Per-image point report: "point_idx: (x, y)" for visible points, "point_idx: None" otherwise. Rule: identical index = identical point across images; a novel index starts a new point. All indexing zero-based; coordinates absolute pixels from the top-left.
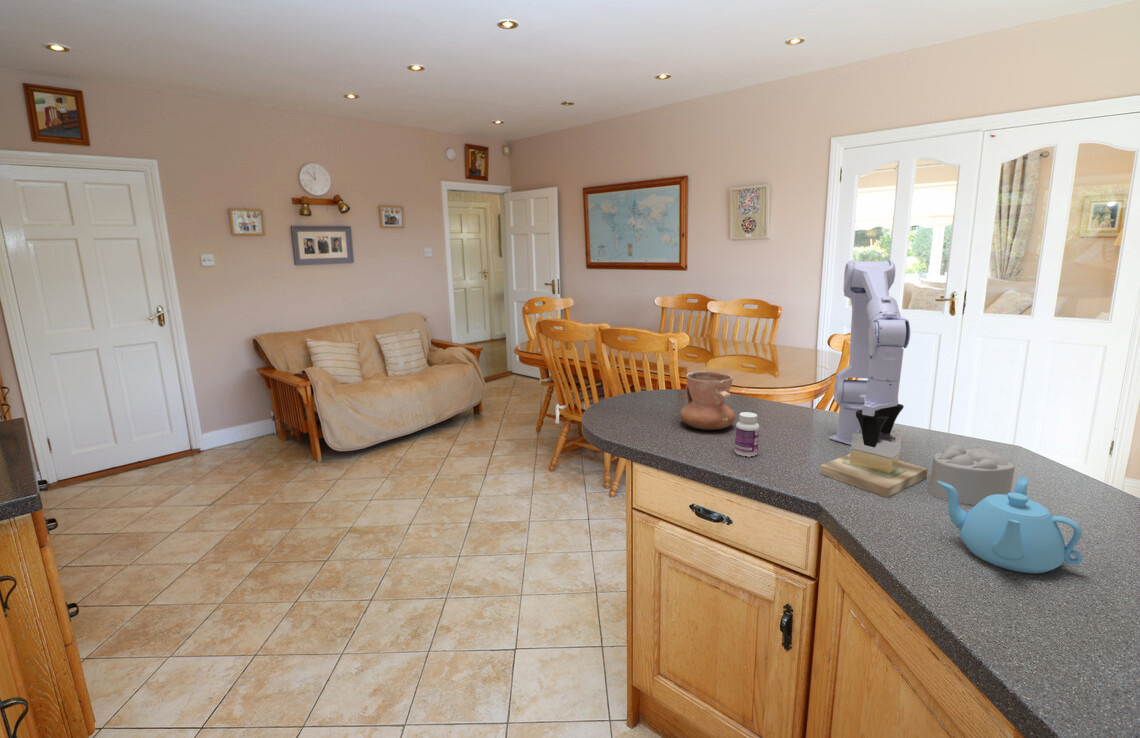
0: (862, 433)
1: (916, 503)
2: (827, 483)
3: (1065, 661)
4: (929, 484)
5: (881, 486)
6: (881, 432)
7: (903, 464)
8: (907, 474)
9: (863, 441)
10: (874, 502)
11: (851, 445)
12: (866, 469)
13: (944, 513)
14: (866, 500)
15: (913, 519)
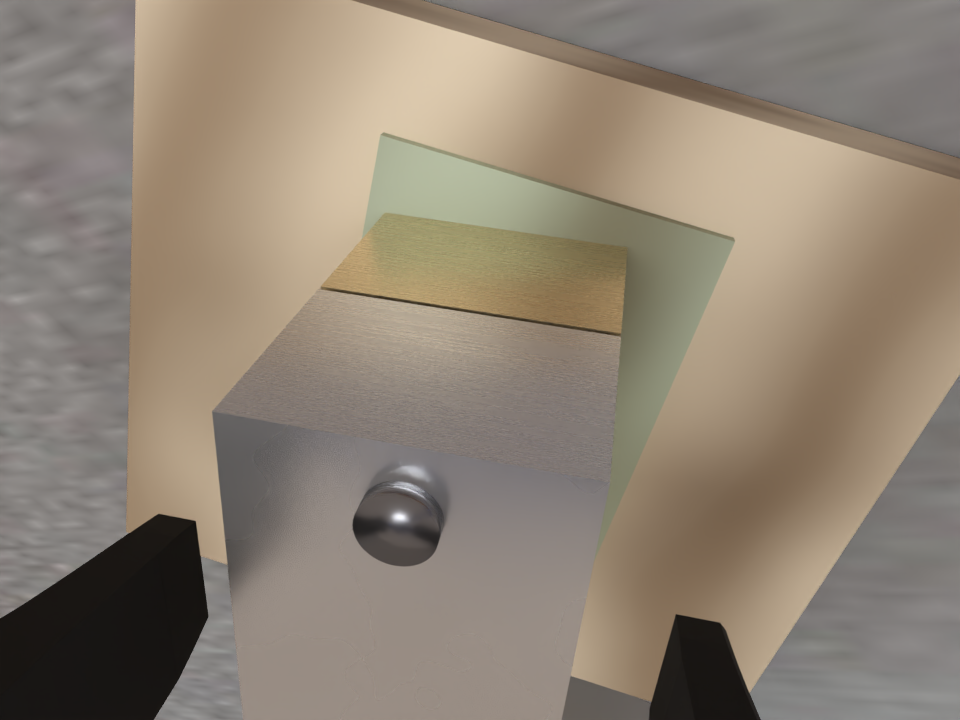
0: (10, 614)
1: (228, 611)
2: (50, 78)
3: None
4: None
5: (131, 493)
6: (667, 706)
7: (725, 598)
8: None
9: (126, 536)
10: (39, 431)
11: (300, 310)
12: None
13: (215, 706)
14: (23, 389)
15: (21, 601)
